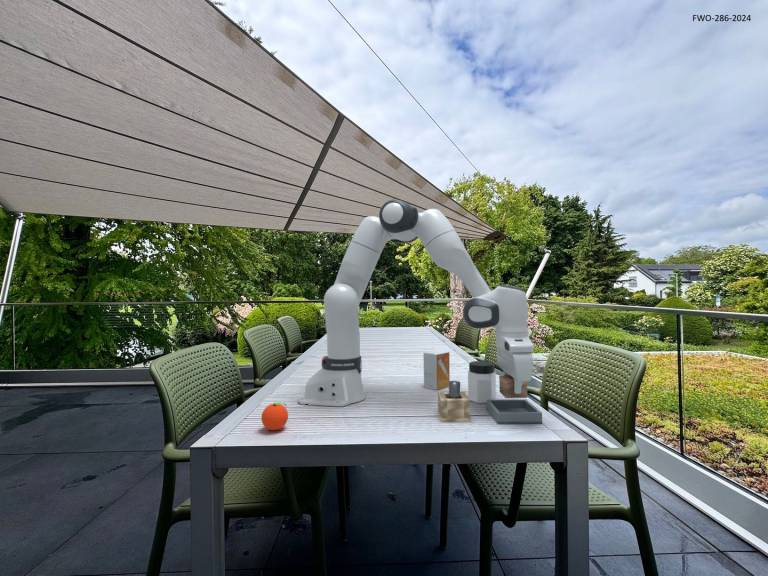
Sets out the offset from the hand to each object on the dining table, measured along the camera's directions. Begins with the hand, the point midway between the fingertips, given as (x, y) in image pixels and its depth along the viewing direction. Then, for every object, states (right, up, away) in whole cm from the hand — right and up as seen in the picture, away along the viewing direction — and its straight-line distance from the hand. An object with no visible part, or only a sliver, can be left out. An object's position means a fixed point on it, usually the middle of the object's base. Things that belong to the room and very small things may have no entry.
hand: (512, 389), depth 108 cm
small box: (-17, -8, +32) cm, 38 cm away
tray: (0, -8, 0) cm, 8 cm away
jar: (-5, -8, +16) cm, 19 cm away
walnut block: (0, -2, 0) cm, 2 cm away
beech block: (-17, -8, 0) cm, 19 cm away
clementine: (-66, -9, -7) cm, 67 cm away
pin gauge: (-17, -7, 0) cm, 18 cm away
